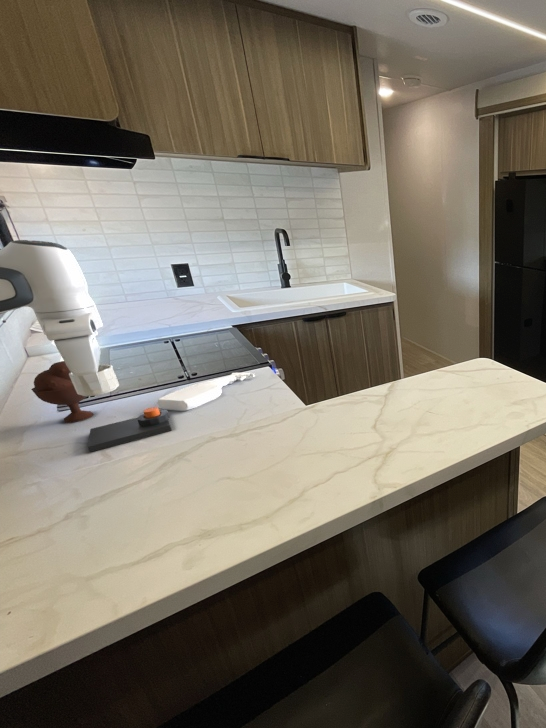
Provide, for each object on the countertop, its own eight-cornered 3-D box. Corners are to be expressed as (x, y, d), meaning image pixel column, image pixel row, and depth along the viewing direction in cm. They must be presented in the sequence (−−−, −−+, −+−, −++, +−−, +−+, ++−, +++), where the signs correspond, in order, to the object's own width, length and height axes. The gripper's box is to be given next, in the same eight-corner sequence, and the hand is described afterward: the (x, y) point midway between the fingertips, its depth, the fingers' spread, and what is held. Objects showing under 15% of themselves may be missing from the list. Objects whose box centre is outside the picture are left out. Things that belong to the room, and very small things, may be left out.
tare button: (145, 419, 94) (143, 413, 94) (145, 415, 96) (142, 409, 96) (160, 416, 96) (158, 409, 96) (160, 412, 98) (157, 405, 97)
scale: (90, 452, 86) (85, 440, 85) (92, 434, 94) (87, 422, 93) (173, 429, 95) (169, 418, 94) (169, 414, 103) (165, 404, 102)
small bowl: (77, 400, 84) (67, 378, 83) (79, 390, 89) (70, 369, 87) (120, 391, 89) (111, 369, 87) (120, 382, 93) (112, 362, 92)
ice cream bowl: (100, 405, 109) (79, 352, 104) (112, 415, 103) (90, 360, 98) (44, 420, 101) (18, 364, 96) (53, 432, 95) (26, 373, 90)
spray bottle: (155, 409, 106) (231, 377, 128) (189, 412, 104) (260, 379, 126) (151, 399, 105) (228, 368, 127) (186, 402, 103) (258, 370, 125)
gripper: (55, 317, 89) (80, 375, 94) (43, 334, 74) (73, 401, 79) (94, 312, 92) (116, 368, 97) (90, 327, 78) (116, 392, 83)
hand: (97, 383), depth 88 cm, fingers closed on small bowl, 7 cm apart
